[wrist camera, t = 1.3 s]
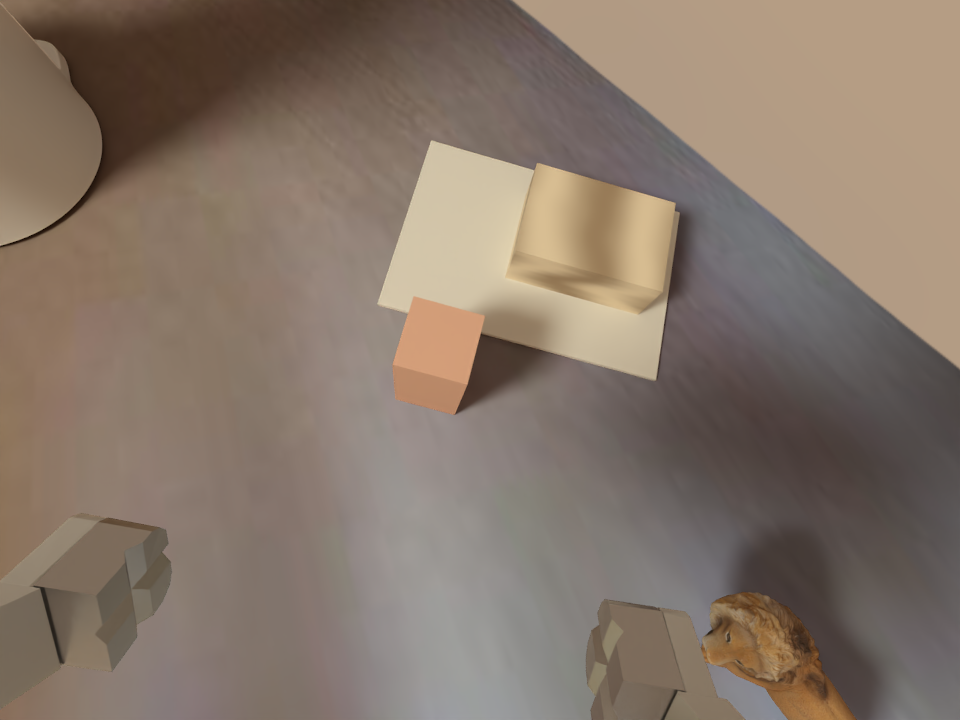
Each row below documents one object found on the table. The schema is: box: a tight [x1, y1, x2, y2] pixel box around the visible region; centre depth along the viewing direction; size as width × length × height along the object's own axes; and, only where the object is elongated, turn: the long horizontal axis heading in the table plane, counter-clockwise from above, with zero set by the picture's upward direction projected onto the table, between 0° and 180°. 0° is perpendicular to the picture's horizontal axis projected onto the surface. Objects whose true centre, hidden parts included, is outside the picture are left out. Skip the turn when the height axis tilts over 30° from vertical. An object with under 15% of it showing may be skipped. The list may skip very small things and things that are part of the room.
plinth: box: [505, 163, 676, 315], centre depth 38 cm, size 10×7×4 cm
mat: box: [378, 141, 680, 381], centre depth 40 cm, size 20×14×1 cm
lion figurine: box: [701, 592, 857, 720], centre depth 29 cm, size 15×5×9 cm, turn 44°
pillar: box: [393, 296, 485, 415], centre depth 33 cm, size 4×4×8 cm
